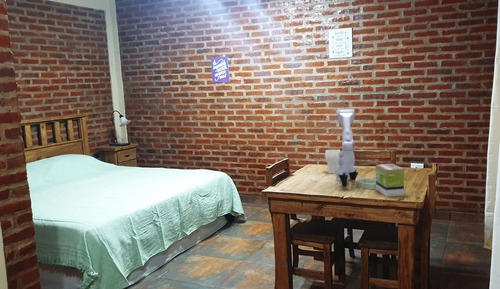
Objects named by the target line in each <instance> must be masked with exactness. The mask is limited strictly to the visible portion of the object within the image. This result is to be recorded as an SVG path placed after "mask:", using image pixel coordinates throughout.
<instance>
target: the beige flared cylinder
mask: <svg viewBox="0 0 500 289" xmlns="http://www.w3.org/2000/svg"><path fill="white" fill-rule="evenodd" d="M324 152H325V153H324V158H325V162H326V164H327V174H336V169H337V167H338V166H339V165H338V154H339V152H341V150H340V149H326V150H325V151H324Z"/></svg>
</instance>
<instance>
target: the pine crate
mask: <svg viewBox="0 0 500 289" xmlns="http://www.w3.org/2000/svg"><path fill="white" fill-rule="evenodd" d="M356 180H357V179H356ZM356 180H350V179H347V183H346V187H343V186H342V183H341V182H340V189H344V190H350V191H351V190H354V189H357V187H356Z"/></svg>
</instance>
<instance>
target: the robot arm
mask: <svg viewBox="0 0 500 289" xmlns="http://www.w3.org/2000/svg"><path fill="white" fill-rule="evenodd" d="M355 117H356V116H355V109H354V108H350V109H349V108H347V109H345V108H344V109H339V108H338V109H337V121H338V123H339V124H341V131H342V133H341V134H342V135H341V136H342V142H341V149H342V150H340V152H339V154H338V167H337V169H336V173H335V174H336V177H335V181H339V182H340V184H341V183H342V186H343V187H346V183H347V179H350V180H357V177H358V175H359V172H358V167H355V164H356V162H355V159H356V158H355V153H354V151H355V142H354V141H355V140H354V139H353V138H354V137H353V136H354V134H353V131H352V130H351V124H353V123H354V120H355Z"/></svg>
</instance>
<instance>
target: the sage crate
mask: <svg viewBox="0 0 500 289" xmlns="http://www.w3.org/2000/svg"><path fill="white" fill-rule="evenodd" d="M356 188H362V189H366V190H372V191H373V190H376V179H372V178H366V177H363V178H360V179H356Z"/></svg>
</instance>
